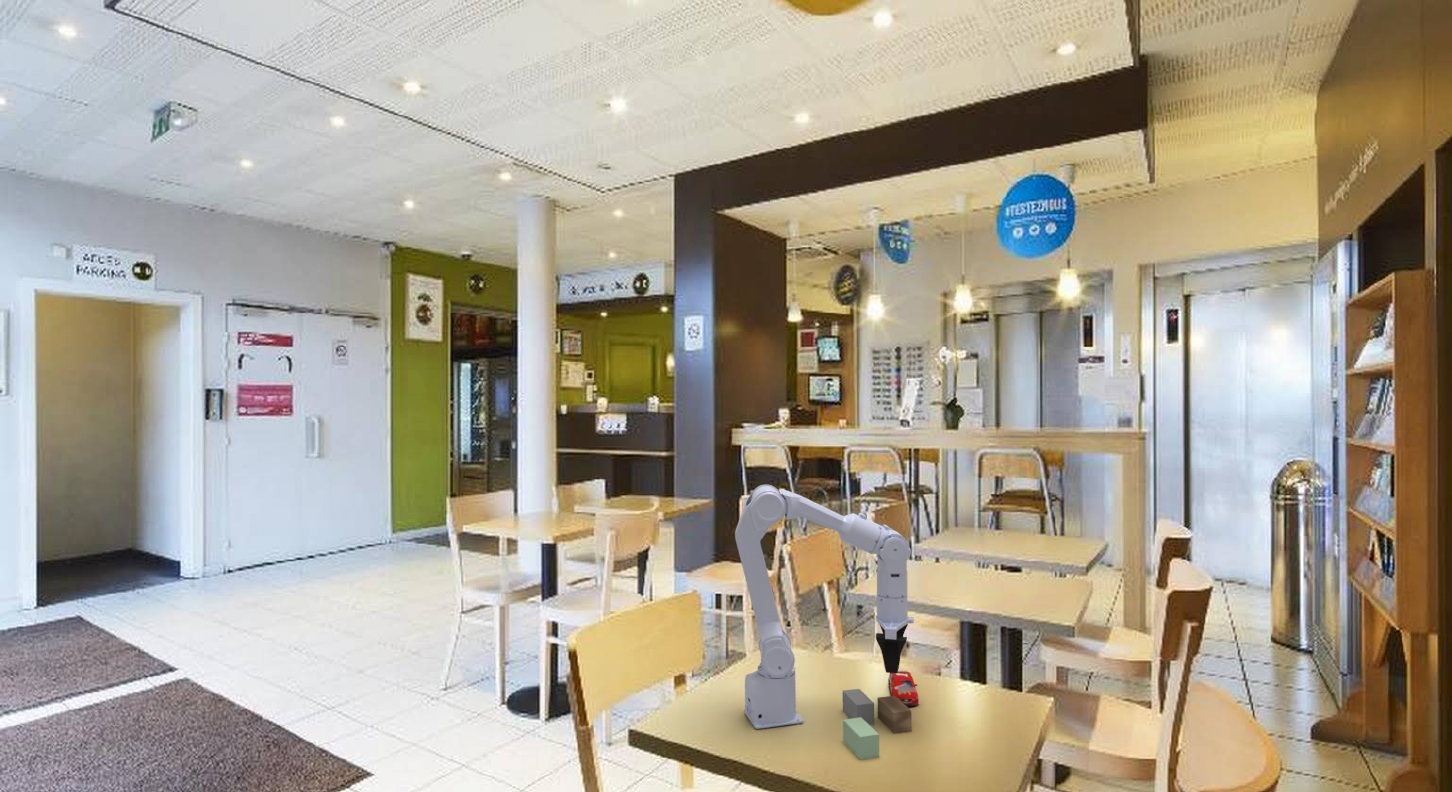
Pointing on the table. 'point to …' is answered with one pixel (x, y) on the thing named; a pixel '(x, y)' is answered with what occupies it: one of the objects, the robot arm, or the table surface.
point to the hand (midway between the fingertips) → (892, 665)
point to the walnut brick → (894, 714)
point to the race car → (903, 687)
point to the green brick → (861, 738)
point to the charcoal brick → (858, 705)
